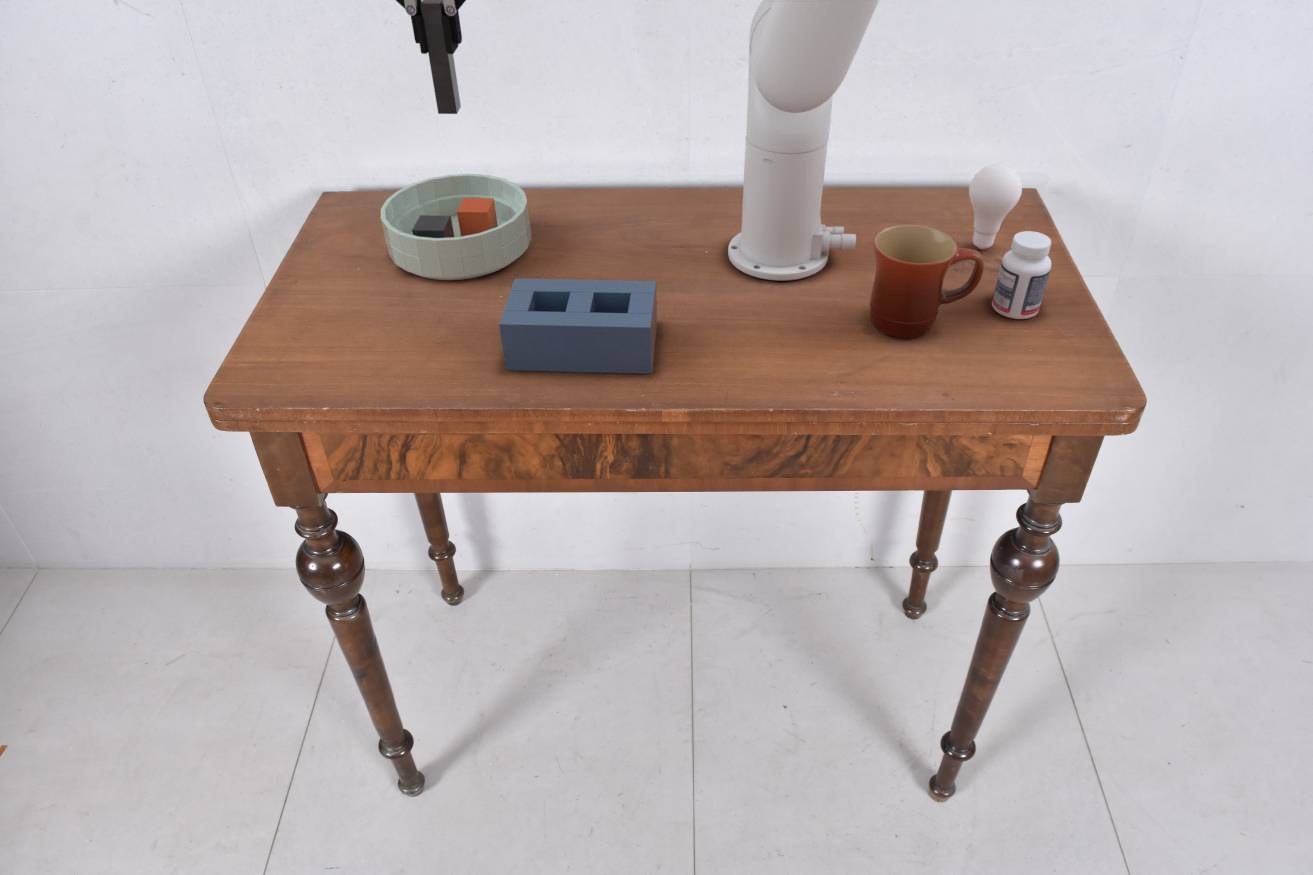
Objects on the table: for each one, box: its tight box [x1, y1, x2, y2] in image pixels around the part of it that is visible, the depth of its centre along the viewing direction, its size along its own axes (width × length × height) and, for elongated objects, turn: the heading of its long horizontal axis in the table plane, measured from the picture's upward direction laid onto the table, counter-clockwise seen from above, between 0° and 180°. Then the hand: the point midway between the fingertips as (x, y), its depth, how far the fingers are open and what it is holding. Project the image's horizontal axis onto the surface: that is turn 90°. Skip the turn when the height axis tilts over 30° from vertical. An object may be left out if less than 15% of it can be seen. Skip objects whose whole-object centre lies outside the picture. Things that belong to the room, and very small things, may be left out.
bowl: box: [380, 173, 532, 281], centre depth 119 cm, size 18×18×6 cm
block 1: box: [412, 215, 454, 238], centre depth 117 cm, size 4×4×4 cm
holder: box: [498, 277, 658, 375], centre depth 101 cm, size 9×16×6 cm, turn 86°
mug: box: [869, 224, 985, 339], centre depth 102 cm, size 12×9×10 cm
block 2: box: [457, 198, 498, 237], centre depth 121 cm, size 4×4×4 cm
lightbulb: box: [968, 163, 1023, 250], centre depth 115 cm, size 6×6×11 cm
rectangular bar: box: [420, 0, 462, 115], centre depth 104 cm, size 2×2×12 cm
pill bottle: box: [991, 230, 1052, 320], centre depth 105 cm, size 5×5×9 cm
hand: (440, 48), depth 103 cm, fingers closed on rectangular bar, 2 cm apart
